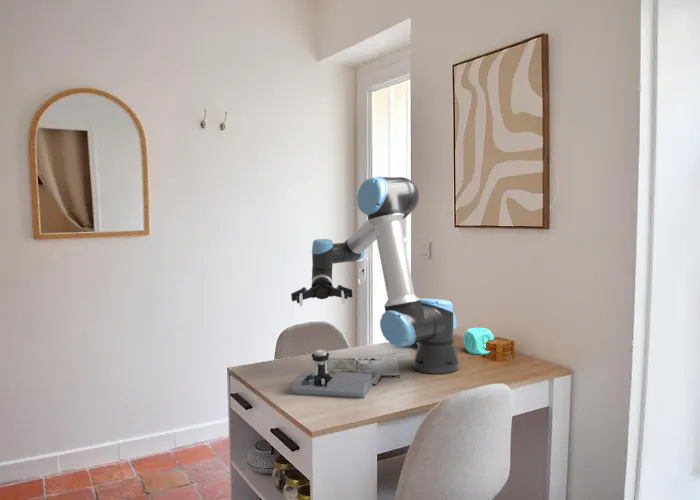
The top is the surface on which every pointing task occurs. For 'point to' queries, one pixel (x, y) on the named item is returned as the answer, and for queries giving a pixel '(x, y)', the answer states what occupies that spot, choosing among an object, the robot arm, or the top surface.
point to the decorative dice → (477, 340)
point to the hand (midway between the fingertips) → (322, 300)
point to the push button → (320, 367)
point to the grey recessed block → (334, 385)
